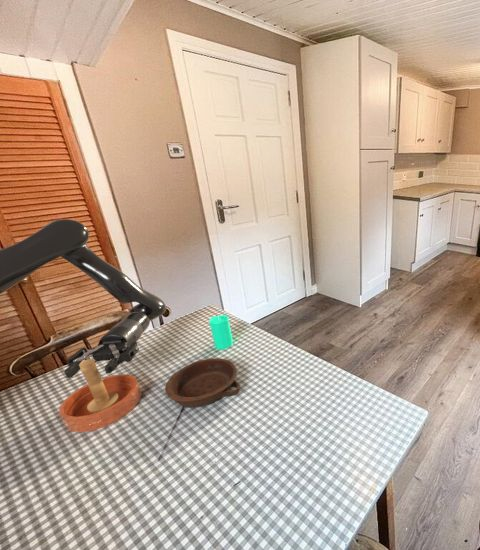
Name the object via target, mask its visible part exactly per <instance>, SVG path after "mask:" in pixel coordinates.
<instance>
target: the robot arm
mask: <svg viewBox="0 0 480 550" xmlns="http://www.w3.org/2000/svg"><path fill="white" fill-rule="evenodd" d="M89 238H90V232H89V229H88V228H87V226H85V224H83V223H82V222H80V221H78V220H75V219H71V218H59V219H55V220H52V221H50V222H48V223H47V224H45V225H44V226H42V227H41V228H40V230H38V231H36V232H34V233H33V234H31V235H30V236H28V237H26V238H24V239H23V240H20V241H18V242H17V243H14V244H11V245H9V246H6V247H4V248H1V249H0V295H1V294H3V293H5V292H6V291H8V290H9V289H11V288H12V287H14V286H16V285H18V284H19V283H21V282H22V281H23V280H25V279H27V278H28V277H29V276H31V275H33V274H34V273H35V272H36V271H37V270H39V269H40V268H42V267H43V266H45V265H47V264H48V263H51V262H53V261H55V260H57V259H59V258H62V259H64V260H65V261H67V262H68V263H70V264H71V265H73V266H74V267H75V268H77V269H79V270H80V271H81V272H83V273H84V274H85V275H86V276H88V277H89V278H90V279H92V280H93V281H94V282H95V283H97V284H98V286H100V287H101V288H103V290H105V291H106V292H107V293H109V294H110V296H112V297H113V298H114V299H115V300H116V301H118V302H119V303H121V304H122V305H123V304H124V305H125V304H131V303H137V304H136V305H134V306H132V307H131V308H130V309H129V310H128V311H127V313H126V315H125V316H124V317H123V318H122V319H121V320H120V321H119V322H117V323H116V324H115V325H114V326H112V327H111V328H110V329H109V330H108V331H107V332H105V334H104V335H103V336H102V337H100V339H99V341H98V344H97V345H96V346H94V347H92V348H91V349H87V347H81V348H79V349H78V350H77V351H76V352H75V353H73V354H72V355H71V356H70V357H68V358H67V359H66V364H67V365H68V367H67V368H66V369H64V374H65V376H66V378H67V379H71V378H73V377H74V376H75V375H76V374H77V373H78V372H79V371H81V369H80V366H79V364H80V363H81V362H83V361H85V360H88V359H91V356H92V359H93V360H94V362H95V364H97V363H98V362H103V361H108V362H107V363H106V364H105V365H104V370H105V373H106V374H111V373H112V372H114V371H115V370H116V369H117V368H118V367H119V366H120V365H122V364H123V363H124V362H126V363H130V362H132V361H133V359H134V358H135V356H137V354H138V352H139V351H140V347H139V344H138V341H139V340H140V338H141V336H142V335H143V334H144V333H145V332H146V331H147V329H148V328H149V326H150V324H151V321H153V320H155V319H157V318H159V317H161V316H162V315H164V314H165V313H166V311H167V306H166V303H165V302H164V301H163V299H162V298H160V297H158V296H157V295H156V294H153V293H152V292H150V291H148V290H147V289H143V288H142V287H140V286H139V285H137V283H136V282H134V280H132V279H131V278H130V277H129V276H128V275H127V274H126V273H124V272H123V271H122V270H120V269H118V268H117V267H115V266H114V265H112V264H110V263H109V262H107V261H106V260H104V259H103V258H102V257H100V256H99V255H98V254H96V253H95V252H94V251H93V250H92V249H91V248H90V247H89V245H88V244H87V243H88V241H89Z"/></svg>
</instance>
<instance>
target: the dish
mask: <svg viewBox="0 0 480 550" xmlns="http://www.w3.org/2000/svg"><path fill="white" fill-rule="evenodd" d="M237 375H238V369H237V366H236V364H235V363H234V362H233V361H231V360H229V359H226V358H221V357H212V358H205V359H200V360H197V361H194V362H191V363H188V364H187V365H185V366H183V367H182V368H180V369H179V370H177V371H176V372H174V373H173V374H172V375H171V376H170V377H169V379H168V380H167V381H166V384H165V388H164V392H165V394H166V396H167V398H169V399H171V400H173V401H174V402H175V403H176V404H178V405H179V406H181V407H184V408H190V409H193V408H194V409H195V408H200V407H205V406H208V405H211V404H212V403H215V402H216V401H218V400H220V399H222V398H223V397H234V396H236V395H238V394H239V393H240V391H241V384H240V382H239V381H238V380H236V378H237ZM232 388H234V389H232Z"/></svg>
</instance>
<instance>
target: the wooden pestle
mask: <svg viewBox="0 0 480 550" xmlns="http://www.w3.org/2000/svg"><path fill="white" fill-rule="evenodd" d="M79 366H80V371H81V373H82V375H83V378H84V380H85V382H86V385H87V384H88V387H89V389H90V391H91V393H92V396H93V398H94V399H93V400H92V401H91V402H90V403H89V404H88V406H87V409H88V411H89V413H90V415H91V414H94V413H97V412H100V411H103V410H105V409H107V408H109V407H111V406H113V405H114V404H116V403H118V402H119V401H121V400H120V398H119V395H118V394H117V393H114V392H111V393H107V390H106V388H105V385H104V383H103V381H102V378H103V377H102V376H101V373H100V371H99V369H98V367H97V363H95V362H94V358H90V359H88V360H85V359H84V360H83V361H82V362H81V363H80V364H79Z"/></svg>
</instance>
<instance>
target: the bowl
mask: <svg viewBox="0 0 480 550" xmlns="http://www.w3.org/2000/svg"><path fill="white" fill-rule="evenodd" d="M101 378H102V381H103V383H104V385H105V388H106V390H107V393H111V392H114V393H117V394H118V395H119V398H120V400H121V401H119V402H118V403H116V404H114V405H113V406H111V407H109V408H107V409H105V410H103V411H100V412H97V413H94V414H91V415H90V413H89V411H88V409H87V406H88V404H89V403H90V402H91V401H92V400H93V399H94V398H93V396H92V393H91V391H90V389H89V387H88V384H87V383H86V384H85V385H83V386H82V387H79V388H78V389H77V390H75V391H74V392H72V393H71V394H70V395H68V396H67V397H66V398H65V399H64V401H63V402H62V403H61V404H60V407H59V409H58V413H59V417H60V418H61V420H62V422H63V424H64V426H65V428H66V429H67V430H69V431H70V432H73V433H85V432H93V431H95V430H98V429H102V428H105V427H107V426H109V425H111V424H114V423H115V422H117V421H119V420H120V419H122V418H124V417H125V416H126V415H128V414H129V413H130V412H131V411H133V410H134V408H136V407H137V405H138V404H139V403H140V401H141V399H142V394H143V393H142V389H141V387H140V385H139V382H138V380H137V377H135V376H133V375H131V374H125V373H120V374H112V375H108V376H104V377H101Z"/></svg>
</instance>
